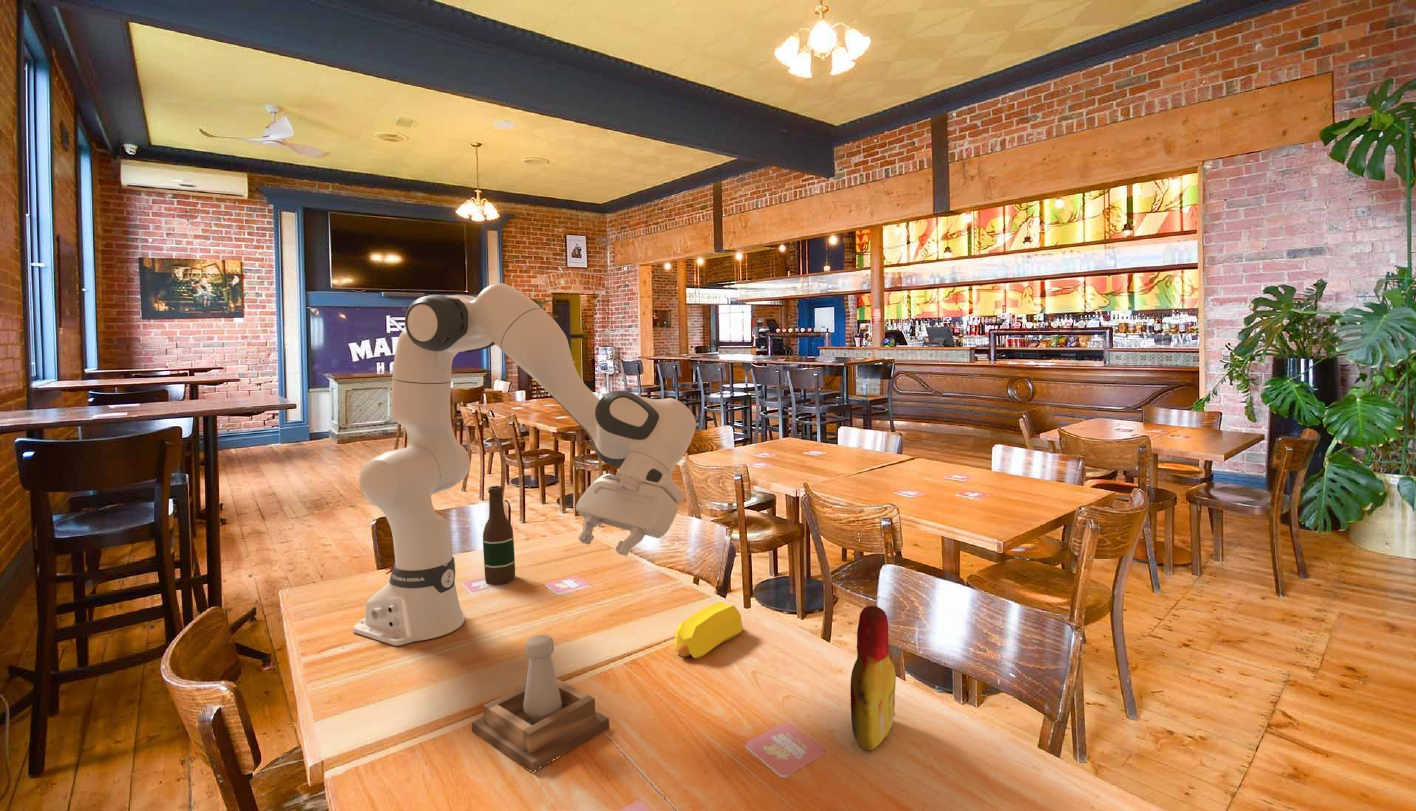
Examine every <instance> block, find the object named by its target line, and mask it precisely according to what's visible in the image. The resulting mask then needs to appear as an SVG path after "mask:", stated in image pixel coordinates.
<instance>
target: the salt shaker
mask: <svg viewBox="0 0 1416 811" xmlns="http://www.w3.org/2000/svg"><path fill="white" fill-rule="evenodd" d="M554 650H555V643H554V639H553V638H552V637H551V636H549V635H546V634H540V635H539V634H538V635H534V636H532V637H530V638H529V639H528V640H527V642H526V643H525V654H526V656H527V657H528V658H529V659H528V667H527V674H526V683H525V685H526V689H525V696H524V704H523V707H524V712H525V714H526V716H527V717H528V718H529V720H530V721H531V723H532V724H533V725H534V724H536V723H538V722H539V721H541V720H543V719H545V718H547V717H549V716H551V715H552V714H554V713H556V712H558V711H559V710H560V708H561V705H562V701H561V697H560V692H559V688H558V684H557V679H558V678H557V676H556V670H555V667H554V662H553V658H552V654H553V653H554Z"/></svg>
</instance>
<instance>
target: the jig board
mask: <svg viewBox="0 0 1416 811" xmlns="http://www.w3.org/2000/svg"><path fill="white" fill-rule="evenodd" d="M556 679H557V684H558V688H559V692H560V697H561V701H562V705H561V708H560V710H559V711H558V712H556V713H554V714H552V715H551V716H549V717H547V718H545V719H543V720H541V721H539V722H538V723H536V724H534V725H533V724H532V723H531V721H530V720H529V718H528V717H527V716H526V714H525V712H524V707H523V704H524V696H525V689H526V684H525V685H523V686H521V687H519V688H517V689H515V690H512V691H510V692H508V693H506V694H504V695H502V696H500V697H498V698H496V699H494V700H492V701H489V702H487V703H486V704H484V705H483V716H482V717H480V718H479V717H478V718H477V719H475V720H473V721H471V731H472V733H474V734H475V735H477V736H478V737H480V738H481V739H483V740H484V741H486V742H487V743H489V744H490V745H492V747H494V748H496V749H498V751H500V752H502V753H503V754H505V755H506V756H507V757H509V758H511V760H513V759H514V760H513V761H515V762H516V761H517V762H516V763H518V762H519V763H520V764H519V763H518V764H519V765H520V766H522V765H523V767H524V768H525V767H526V768H528V769H529V770H531V771H532V772H534V771H535V770H538V769H539V768H540V767H543V766H544V765H546V764H548V762H551V761H552V760H553V759H556V758H557V757H559V756H561V755H562V754H564V753H566V754H567V752H568V751H569V752H571V751H573V750H574V749H576V748H577V747H579V746H581V745H582V744H584V743H586V742H587V741H589V740H591V739H593V738H594V737H596V736H597V735H599V734H600V733H602V732H604V731H605V730H607V729H609V728H610V718H609V717H608V716H606V715H604V714H602V713H600V712H598V711H596V698H595V697H593V696H591V695H589V694H588V693H585V692H583V691H581V690H579V689H577V688H576V687H574V686H572V685H570V684H568V683H566V682H564V681H562V680H560V679H558V678H556ZM578 745H579V746H578ZM572 749H573V750H572ZM570 750H571V751H570ZM569 752H568V753H569ZM564 755H565V754H564ZM561 757H562V756H561ZM559 758H560V757H559ZM556 760H557V759H556ZM551 763H552V762H551ZM548 765H549V764H548ZM546 766H547V765H546ZM544 767H545V766H544ZM544 767H543V768H544ZM526 768H525V769H526ZM528 769H527V770H528ZM529 770H528V771H529ZM539 770H540V769H539ZM539 770H538V771H539ZM531 771H530V772H531ZM532 772H531V773H532ZM534 773H535V772H534Z"/></svg>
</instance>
